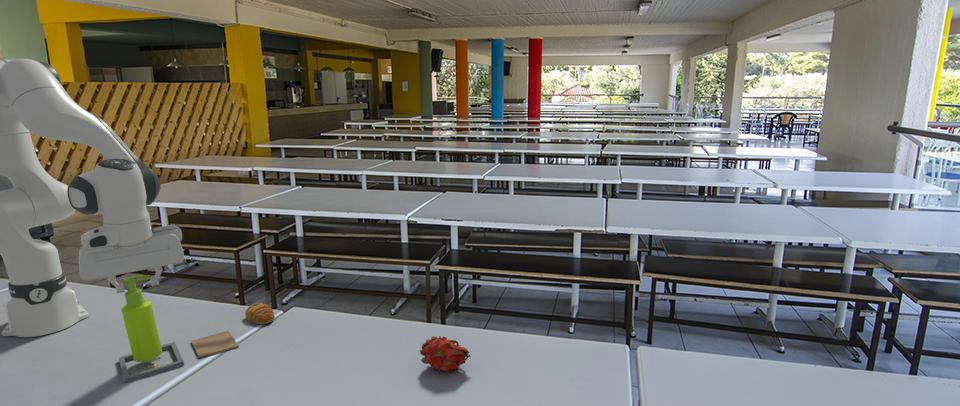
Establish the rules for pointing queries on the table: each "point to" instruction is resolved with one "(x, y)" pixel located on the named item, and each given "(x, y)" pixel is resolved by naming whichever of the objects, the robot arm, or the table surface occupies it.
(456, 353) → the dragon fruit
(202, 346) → the walnut pad
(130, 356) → the slate frame
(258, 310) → the pastry
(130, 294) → the soap dispenser
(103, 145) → the robot arm
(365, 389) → the table surface
